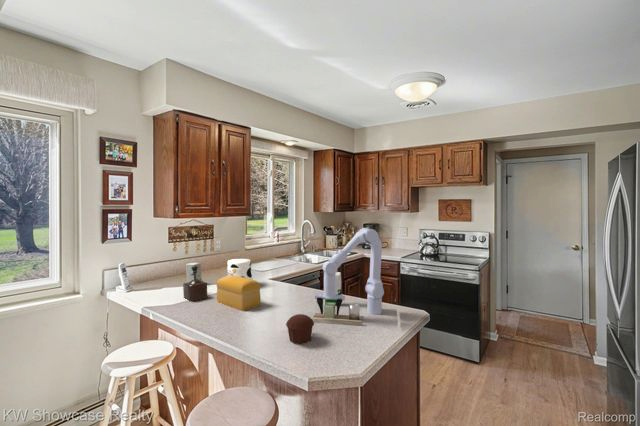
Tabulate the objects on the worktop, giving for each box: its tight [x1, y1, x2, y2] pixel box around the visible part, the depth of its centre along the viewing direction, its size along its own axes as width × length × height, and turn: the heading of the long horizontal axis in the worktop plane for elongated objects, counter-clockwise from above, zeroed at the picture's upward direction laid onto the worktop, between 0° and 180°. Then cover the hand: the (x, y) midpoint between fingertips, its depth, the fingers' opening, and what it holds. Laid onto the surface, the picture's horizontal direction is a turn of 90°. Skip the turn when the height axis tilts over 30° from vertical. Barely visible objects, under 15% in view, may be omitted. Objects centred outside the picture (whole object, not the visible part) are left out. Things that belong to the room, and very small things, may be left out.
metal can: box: [348, 302, 361, 320], centre depth 152 cm, size 5×5×7 cm
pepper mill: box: [182, 266, 208, 302], centre depth 193 cm, size 16×11×18 cm
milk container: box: [226, 258, 254, 280], centre depth 217 cm, size 17×17×18 cm
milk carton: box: [324, 271, 342, 307], centre depth 176 cm, size 9×9×20 cm
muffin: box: [285, 313, 315, 345], centre depth 132 cm, size 12×11×10 cm
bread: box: [216, 275, 262, 312], centre depth 180 cm, size 24×13×15 cm, turn 50°
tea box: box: [323, 303, 336, 319], centre depth 155 cm, size 4×6×6 cm
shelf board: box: [309, 312, 364, 327], centre depth 152 cm, size 12×24×3 cm, turn 78°
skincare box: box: [185, 262, 203, 283], centre depth 219 cm, size 8×7×16 cm
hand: (329, 314), depth 155 cm, fingers open, 7 cm apart
